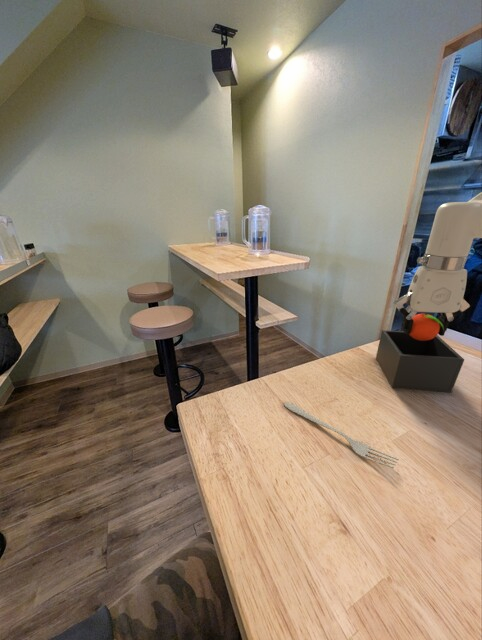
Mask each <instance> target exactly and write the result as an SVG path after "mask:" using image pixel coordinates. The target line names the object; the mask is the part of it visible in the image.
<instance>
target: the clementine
mask: <svg viewBox="0 0 482 640" xmlns="http://www.w3.org/2000/svg"><path fill="white" fill-rule="evenodd" d="M412 319H413V325H412V329H411V332H410V334H409V335H410V336H411V337H412V338H414V339H416V340H420V341H427V340H431V339H433V338H434V337H435V336H436V335H439V334H438V333H439V329H440V325H439V323H440V324H441V326H442V327H443V325H442V323H441V322H440V321H439V320H438V317H435V316H433V315H431V314H428V313H418V314H417V313H416V314H415V315H414V316H413V318H412ZM443 330H444V328H443Z"/></svg>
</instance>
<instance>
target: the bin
mask: <svg viewBox="0 0 482 640" xmlns="http://www.w3.org/2000/svg"><path fill="white" fill-rule="evenodd" d="M375 360H376V361H377V364H378V365H379V367H380V369H381V372H382V373H383V374H384V377H385V378H386V380H387V381H388V383H389V385H390V387H391V389H402V390H413V391H426V392H438V393H439V392H440V393H452V392H453V390H454V387H455V385H456V382H457V380H458V377H459V375H460V373H461V370H462V368H463V364H464V362H465V358H464V357H463V356H461V355H460V354H459V353H458V352H457V351H456V350H455V349H454V348H452V347H451V346H450V345H449V344H448V343H447V342H445V340H444V339H442V338H441V337H440V335H439V334H437V335H436V336H435V337H434V338H433V339H431V340H427V341H420V340H416V339H414V338H412V337H411V336H410V335H409V334H406V333H405V332H404V331H403V330H388V329H387V330H385V329H382V330H381V333H380V338H379V342H378V347H377V351H376V355H375Z"/></svg>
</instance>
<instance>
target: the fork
mask: <svg viewBox="0 0 482 640" xmlns="http://www.w3.org/2000/svg"><path fill="white" fill-rule="evenodd" d="M283 405H284V406H285V408H286V409H288V410H289V411H291V412H293V413H295V414H297V415H299V416H301V417H302V418H305V419H306V420H309V421H311V422H314V423H315V424H318V425H319V426H322V427H324V428H326V429H329V430H331V431H333V432H335V433H336V434H339V436H342V437H343V438H344V439H345V440H346V441H347V442H348V444H349V445H350V447H351V449H352V451H354V453H355V454H357V455H358V456H359V457H362V458H364V459H366V460H368V461H371V462H374V463H376V464H379V465H382V466H385V467H387V468H391V469H394V468H395V466H396V464H397V463H398V461H399V458H397V457H394V456H392V455H389V454H387V453H385V452H382V451H380V450H377V449H375V448H374V447H371V446H370V445H368V444H366V443H363V442H360V441H358V440H356V439H353V438H351V437H350V436H348V435H347V434H345V433H344V432H342V431H340V430H339V429H337V428H335V427H333V426H331V425H329V424H328V423H326V422H324V421H322V420H321V419H320V418H317V417H316V416H313V415H312V414H310V413H308V412H307V411H305V410H304V409H302V408H301V407H299V406H297V405H295V404H293V403H291V402H288V401H287V402H284V404H283Z"/></svg>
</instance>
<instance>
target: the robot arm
mask: <svg viewBox="0 0 482 640" xmlns="http://www.w3.org/2000/svg"><path fill="white" fill-rule="evenodd" d="M474 239H482V191H481V192H480V193H478V194H476V195H475V196H474V197H473V198H471V199H470V200H468V201H450V202H445V203H442V204H440V206H438V208H437V209H436V212H435V215H434V220H433V223H432V227H431V231H430V234H429V237H428V241H427V245H426V249H425V253H424V254H423V256H420V257H419V256H418V257H417V259H416V263H417V264H420V265H421V266H418V268H417V269H416V271H415V273H414V275H413V277H412V279H411V282H410V284H409V287H408V289H407V293H406V294H404V295H402V296H401V297H399V298H397V299H396V300H394V301H393V305H394V306H395V307H396V308H397V310H398V312H399V313H401V314H402V316H403V317H402V322H401V329H402V330H401V331H404V332H405V333H406V334H410V332H411V329H412V325H413V319H412V318H413V316H414V315H417V313H435V314H436V313H437V314H440V315H439V316H438V317H437V319H438V320H439V321H440V322H441V323H442V325H443V327H442V326H441V324H440V323H439V325H440V329H439V333H438V334H437V335H438V336H439V337H440V336H441V337H444V336H445V333H446V332H447V331H448V327H449V325H450V322H453V320H454V319H455V318H456V317H458V316H460V315H461V314H462V313H463V312H465V311H466V310H467V309H469V308H470V307H471V305H470V304H469V303H468V302H467V301H466V300H465V298H464V297H465V296H464V295H465V292H466V288H467V287H466V286H467V282H468V281H467V279H468V270H467V269H465V265H466V262H467V260H468V256H469V253H470V250H471V249H472V248H471V247H472V244H473V242H474ZM404 304H406V305H407V307H406V308H405V306H404ZM443 328H444V330H443Z"/></svg>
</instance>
